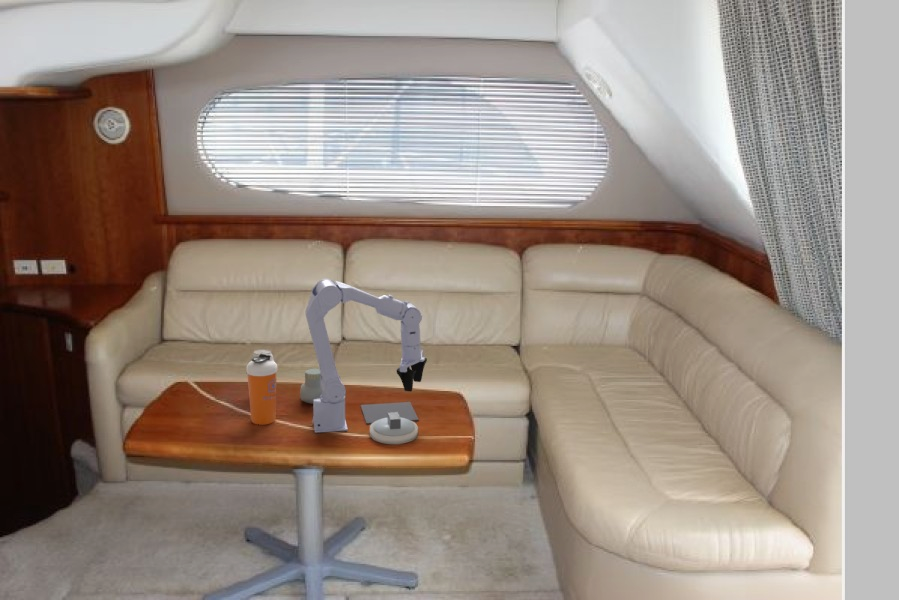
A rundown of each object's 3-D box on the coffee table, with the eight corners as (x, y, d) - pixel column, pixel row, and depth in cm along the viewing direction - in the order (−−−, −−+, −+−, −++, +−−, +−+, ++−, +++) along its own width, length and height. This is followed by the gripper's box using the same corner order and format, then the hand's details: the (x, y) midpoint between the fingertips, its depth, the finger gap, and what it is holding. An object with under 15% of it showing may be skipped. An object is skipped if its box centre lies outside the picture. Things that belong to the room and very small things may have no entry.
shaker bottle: (243, 424, 215) (240, 360, 210) (255, 412, 223) (253, 351, 218) (272, 427, 214) (270, 363, 209) (283, 415, 222) (281, 353, 217)
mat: (366, 424, 218) (366, 422, 218) (360, 406, 231) (360, 404, 231) (418, 420, 222) (418, 419, 222) (410, 403, 235) (410, 401, 235)
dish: (373, 446, 204) (373, 439, 204) (366, 425, 217) (366, 419, 217) (422, 442, 207) (422, 435, 207) (412, 422, 220) (412, 416, 220)
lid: (376, 437, 205) (376, 425, 204) (370, 420, 216) (370, 409, 215) (418, 434, 208) (418, 422, 207) (410, 417, 219) (410, 406, 218)
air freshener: (326, 407, 230) (325, 377, 227) (299, 407, 229) (298, 377, 226) (329, 394, 240) (328, 365, 238) (303, 394, 239) (303, 365, 237)
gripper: (414, 352, 209) (416, 396, 213) (431, 337, 222) (433, 378, 226) (392, 350, 211) (394, 394, 215) (410, 335, 224) (412, 376, 228)
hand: (413, 386), depth 221 cm, fingers open, 7 cm apart
